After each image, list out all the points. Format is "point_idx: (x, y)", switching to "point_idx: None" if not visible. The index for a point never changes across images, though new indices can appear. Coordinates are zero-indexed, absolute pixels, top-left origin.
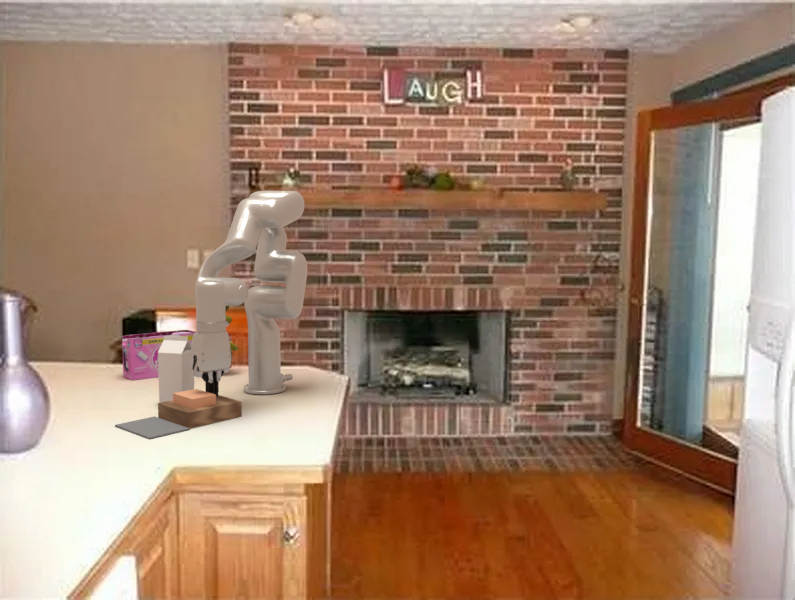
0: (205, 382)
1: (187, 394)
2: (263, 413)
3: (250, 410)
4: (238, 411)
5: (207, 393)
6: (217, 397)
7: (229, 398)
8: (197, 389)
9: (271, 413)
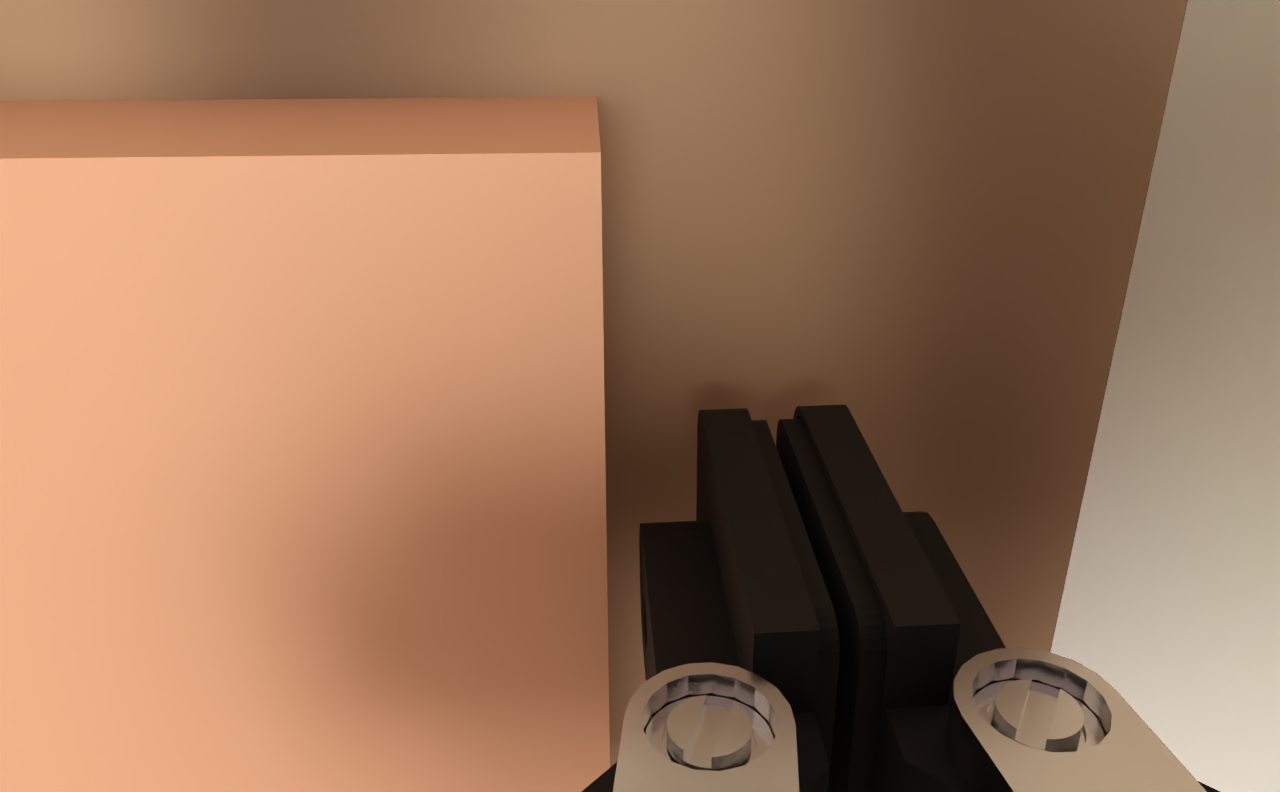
0: (662, 704)
1: (75, 555)
2: (1207, 731)
3: (1248, 521)
4: None
5: (528, 751)
6: (961, 386)
7: (1041, 600)
8: (590, 245)
9: (1258, 784)
